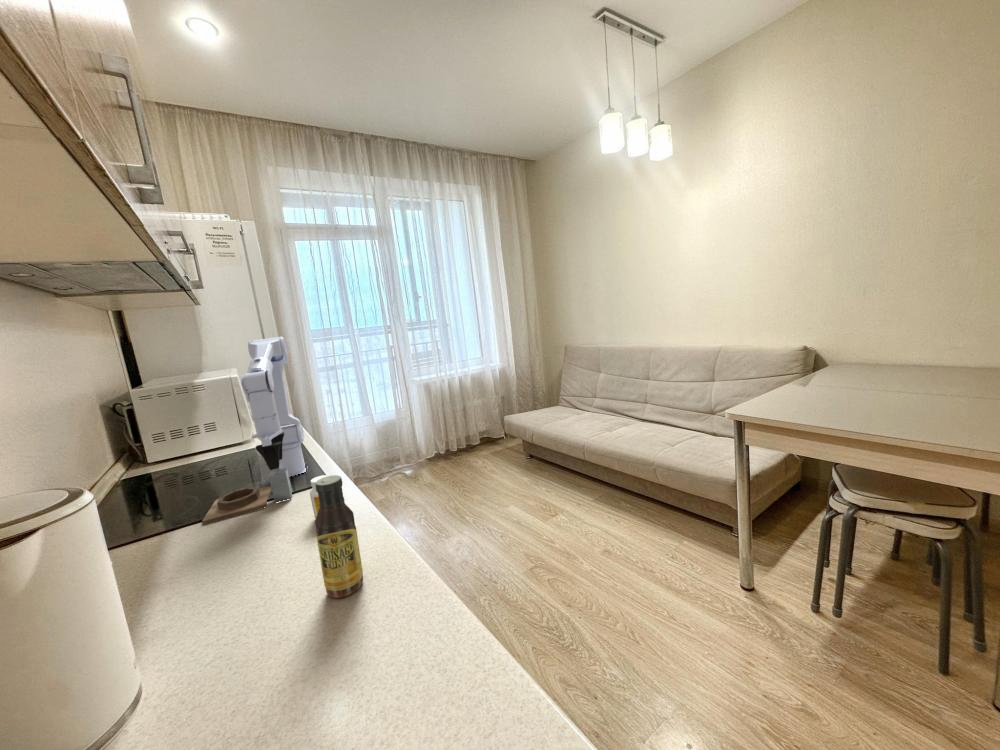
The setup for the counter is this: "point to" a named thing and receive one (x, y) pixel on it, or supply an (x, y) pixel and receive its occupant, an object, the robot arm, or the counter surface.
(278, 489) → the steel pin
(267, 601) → the counter surface
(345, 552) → the sauce bottle
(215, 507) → the holder board
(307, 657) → the counter surface
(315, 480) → the supplement bottle
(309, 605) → the counter surface
